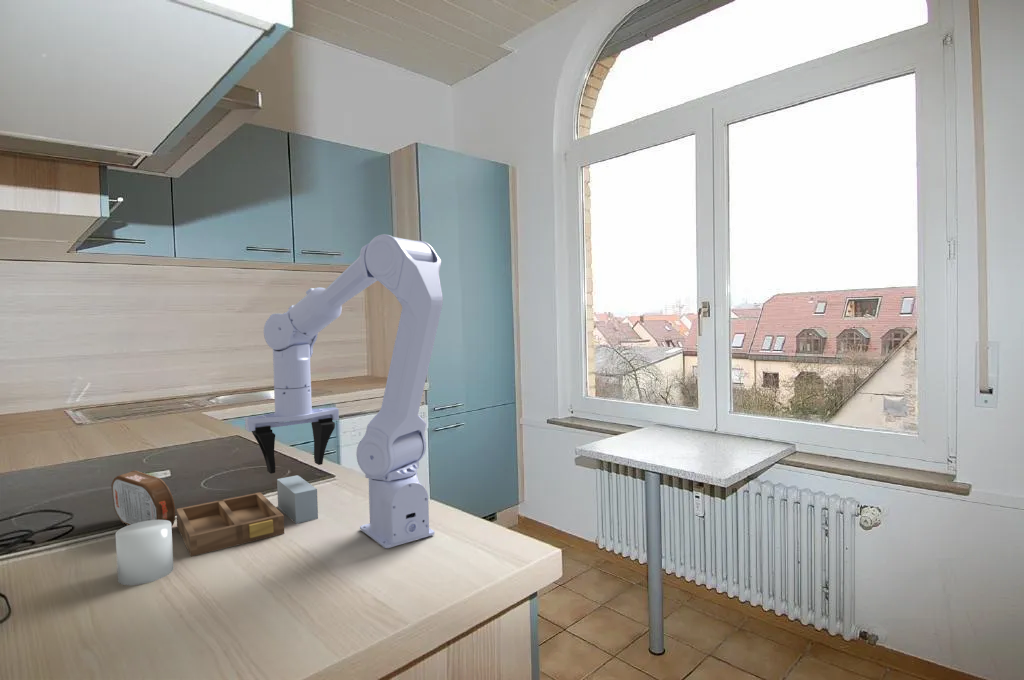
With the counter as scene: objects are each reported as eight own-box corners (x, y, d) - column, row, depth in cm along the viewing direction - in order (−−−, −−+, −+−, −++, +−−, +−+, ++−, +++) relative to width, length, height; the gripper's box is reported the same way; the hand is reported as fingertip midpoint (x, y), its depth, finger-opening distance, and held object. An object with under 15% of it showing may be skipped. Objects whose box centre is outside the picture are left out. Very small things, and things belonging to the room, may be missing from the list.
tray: (285, 534, 84) (284, 516, 84) (191, 558, 76) (190, 538, 76) (260, 508, 95) (260, 492, 95) (177, 526, 88) (176, 508, 88)
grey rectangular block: (318, 519, 90) (317, 489, 90) (295, 524, 88) (294, 493, 88) (298, 503, 98) (297, 475, 98) (278, 507, 96) (276, 479, 96)
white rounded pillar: (176, 575, 71) (174, 529, 71) (119, 590, 68) (116, 542, 67) (170, 559, 76) (168, 516, 76) (116, 572, 72) (114, 527, 72)
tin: (178, 534, 85) (176, 479, 84) (156, 541, 82) (153, 485, 82) (130, 516, 93) (128, 466, 92) (109, 522, 90) (106, 470, 90)
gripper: (327, 380, 100) (330, 455, 100) (239, 388, 91) (242, 470, 91) (342, 384, 94) (344, 463, 95) (249, 393, 85) (253, 480, 86)
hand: (295, 467), depth 93 cm, fingers open, 7 cm apart
